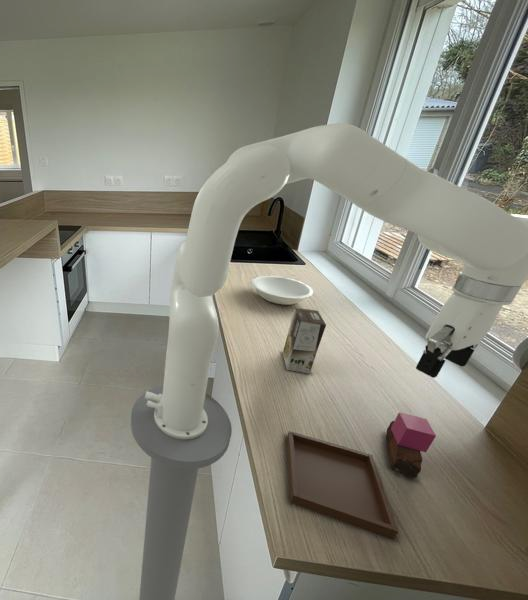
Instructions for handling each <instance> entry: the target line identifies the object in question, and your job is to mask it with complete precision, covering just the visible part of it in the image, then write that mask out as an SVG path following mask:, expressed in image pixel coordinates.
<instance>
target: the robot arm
mask: <svg viewBox="0 0 528 600" xmlns="http://www.w3.org/2000/svg"><path fill="white" fill-rule="evenodd" d="M306 179H308V180H313V181H315V182H317V183H319V184H320V185H322V186H324V187H326V188H327V189H328V190H330V191H332V192H334V193H335V194H336V195H339V196H340V197H342V198H343V199H345V200H347V201H348V202H350V203H352V205H355V206H356V207H358V208H359V209H361V210H363V211H364V212H365V213H367V214H368V215H370V216H371V217H375V218H376V219H379V220H380V221H382V222H385V223H387V224H388V225H389V224H390V225H392V226H395V227H398V228H401V229H404V230H406V231H408V232H412V233H414V234H417V240H418V242H419V244H421V245H422V246H423V247H424V248H425V249H427V250H429V252H432V253H434V254H437V255H440V256H442V257H444V258H448V259H450V260H453V261H455V262H458V263H461V264H463V266H462V268H461V270H460V272H459V274H458V276H457V278H456V280H455V282H454V284H453V286H452V288H451V290H452V294H451V295H450V296H449V297H448V299H447V300H446V301H445V303H444V304H443V306H442V307H441V309H440V310H439V312H438V314H437V315H436V317H435V318H434V320H433V322H432V324H431V325H430V327H429V329H428V330H427V332H426V334H425V338H426V340H427V344H426V345H425V346H424V347H425V348H424V349H423V351H422V352H423V353H422V355H421V357H420V358H419V361H418V362H417V364H416V366H415V369H416V370H417V371H419V372H421V373H423V374H424V375H426V376H429V377H431V378H433V379H434V378H437V377H438V375H439V374H440V372H441V371H442V368H443V367H444V365H445V363H446V361H449V362H451V363H453V364H455V365H457V366H460V367H465V366H467V363H468V362H469V360H470V359H471V357H472V355H473V354H474V352H475V350H476V348H477V347H478V346H479V343H480V342H482V341H483V340H484V339H485V337H486V336H487V335H488V332H489V331H490V330H491V328H492V326H493V325H494V323H495V321H496V319H497V317H498V315H499V314H500V311H501V309H503V306H509V305H512V304H513V302H514V301H515V299H516V297H517V295H518V293H519V292H520V290H521V289H522V287H523V285H524V284H525V282H526V280H527V279H528V215H526V214H517V213H514V214H513V213H509V212H508V211H506V210H505V209H503V207H500V206H499V205H498V204H496V203H495V202H492V201H491V200H489V199H487V198H484V197H483V196H481V195H479V194H477V193H474V192H473V191H471V190H468V189H466V188H464V187H461V186H459V185H458V184H455V183H453V182H451V181H449V180H447V179H445V178H443V177H441V176H439V175H437V174H435V173H432V172H430V171H428V170H426V169H423V168H422V167H420V166H418V165H417V164H415V163H413V162H412V161H411V160H409V159H407V158H406V157H404V156H403V155H401V154H400V153H398V152H396V151H395V150H393V149H392V148H390V147H389V146H387V145H386V144H385V143H383V142H382V141H380V140H379V139H378V138H376V137H374V136H372V135H371V134H369V133H368V132H367V131H365V130H364V129H361V128H360V127H358V126H356V125H354V124H350V123H346V122H338V123H337V122H336V123H330V124H322V125H317V126H316V125H315V126H313V127H308V128H306V129H302V130H299V131H296V132H292V133H289V134H285V135H282V136H277V137H274V138H270V139H266V140H263V141H259V142H255V143H251V144H247V145H244V146H241V147H239V148H238V149H236V150H235V151H234V152H233V153H231V155H230V156H229V157H228V158H227V159H226V162H225V163H224V164H222V165H221V166H220V167H219V168H217V169H216V170H215V171H214V172H213V173H212V174H210V176H209V177H208V178H207V179H206V181H205V183H203V185H202V186H201V188H200V190H199V192H198V194H197V195H196V198H195V200H194V203H193V206H192V210H191V215H190V219H189V224H188V228H187V233H186V237H185V238H186V239H185V240H184V241H183V242H182V243H181V244H180V246H179V248H178V250H177V253H176V257H175V263H174V270H173V276H172V281H171V288H170V295H169V311H168V313H169V314H168V317H169V318H168V319H169V320H168V321H169V322H168V336H167V344H166V354H165V364H164V374H163V375H164V376H163V385H162V386H163V394H159V395H156V394H154V393H151V392H148V390H146V391H145V392H146V394H145V399H147V400H150V401H147V406H148V407H151V408H155V411H154V419H155V422H156V424H157V426H158V427H159V428H160V429H161V430H162V431H163V432H164V433H165V434H167V435H169V436H171V437H174V438H177V439H193V438H196V437H198V436H200V435H201V434H202V433H204V431H205V430H206V427H207V423H208V417H207V414H206V412H205V410H204V409H203V406H204V400H205V394H207V387H208V382H209V377H210V369H211V364H212V357H213V353H214V350H215V347H216V344H217V340H218V338H219V330H220V327H219V326H220V325H219V324H220V323H219V318H218V314H217V310H216V307H215V304H214V300H213V299H214V298H213V296H214V295H215V294H216V293H218V292H219V291H220V290H222V288H223V286H224V285H225V283H226V281H227V278H228V274H229V271H230V266H231V265H230V264H231V260H232V255H233V251H234V247H235V243H236V239H237V236H238V233H239V229H240V226H241V224H242V221H243V219H244V218H245V216H247V214H248V213H249V212H250V211H251V210H252V209H254V207H255V206H257V205H259V204H260V203H263V202H265V201H267V200H270V199H271V198H273V197H274V196H276V195H277V194H278V193H279V192H280V191H281V190H282V189H283V188H284V187H285V186H286V185H288V184H291V183H295V182H298V181H303V180H306ZM440 347H442V348H444V349H443V350H442V349H441V348H440ZM152 401H155V402H157V403H154V402H152Z"/></svg>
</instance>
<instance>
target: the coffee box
mask: <svg viewBox="0 0 528 600" xmlns="http://www.w3.org/2000/svg"><path fill="white" fill-rule="evenodd" d="M326 326H327V323H326V322H325V320H324V319H323V317H322V315H321V314H320V312H319V311H318V310H315V309H307V308H297V307H294V310H293V314H292V317H291V321H290V325H289V328H288V332H287V336H286V340H285V343H284V347H283V351H282V357H283V361H284V364H285V368H286V370H288V371H292V372H298V373H303V374H310V373H311V370H312V368H313V365H314V362H315V360H316V359H315V358H316V355H317V352H318V351H319V347H320V344H321V341H322V338H323V335H324V333H325V329H326Z"/></svg>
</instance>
